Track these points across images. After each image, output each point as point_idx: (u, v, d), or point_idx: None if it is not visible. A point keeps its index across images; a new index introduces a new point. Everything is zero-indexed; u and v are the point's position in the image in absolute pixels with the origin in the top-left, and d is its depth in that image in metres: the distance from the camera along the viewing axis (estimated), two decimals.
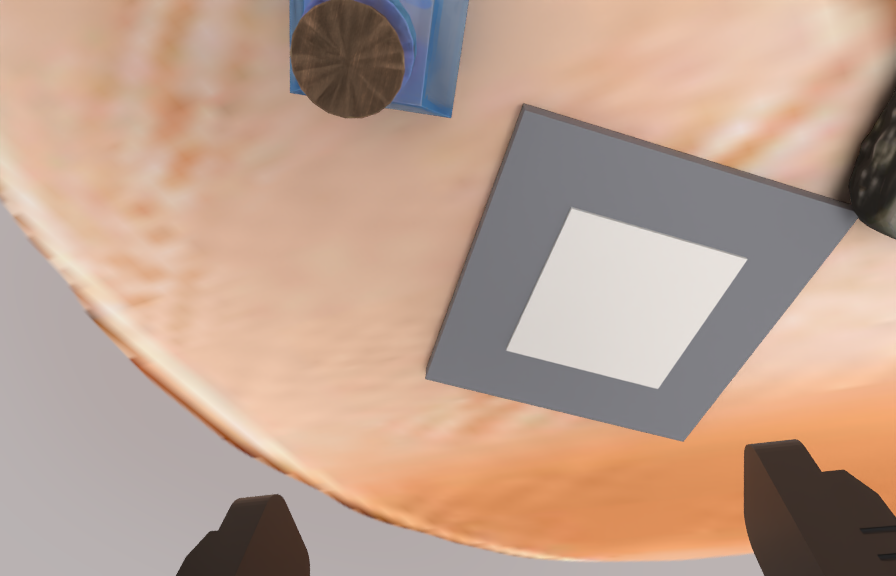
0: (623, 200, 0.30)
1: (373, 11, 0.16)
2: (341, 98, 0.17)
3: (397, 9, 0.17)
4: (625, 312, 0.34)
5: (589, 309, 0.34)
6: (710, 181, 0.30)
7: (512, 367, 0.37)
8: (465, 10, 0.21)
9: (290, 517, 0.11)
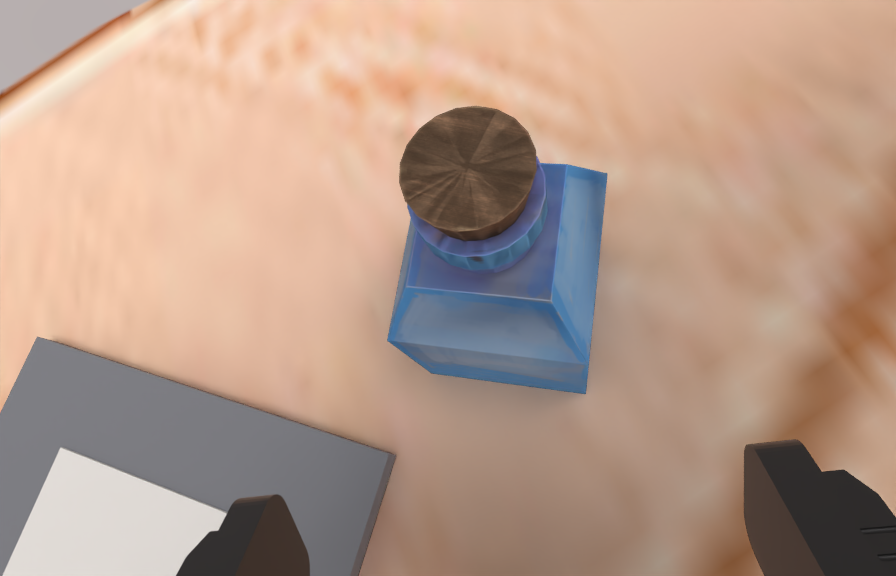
0: None
1: (524, 194, 0.13)
2: (423, 159, 0.14)
3: (521, 237, 0.14)
4: None
5: (105, 567, 0.24)
6: None
7: (31, 458, 0.26)
8: (509, 352, 0.18)
9: (290, 517, 0.11)
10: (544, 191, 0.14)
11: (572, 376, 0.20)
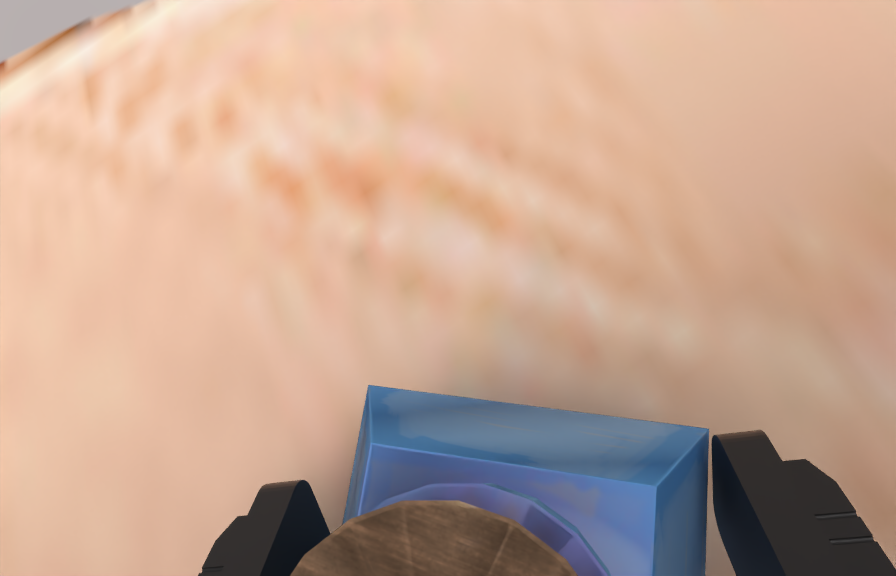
0: None
1: None
2: None
3: None
4: None
5: None
6: None
7: None
8: None
9: (315, 503, 0.11)
10: None
11: None
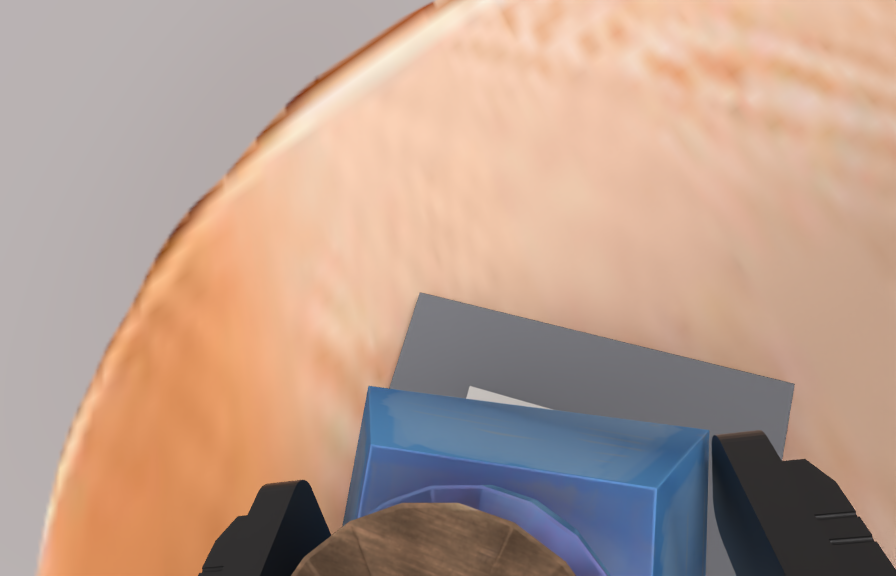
0: None
1: None
2: None
3: None
4: None
5: None
6: None
7: None
8: None
9: (316, 503, 0.11)
10: None
11: None
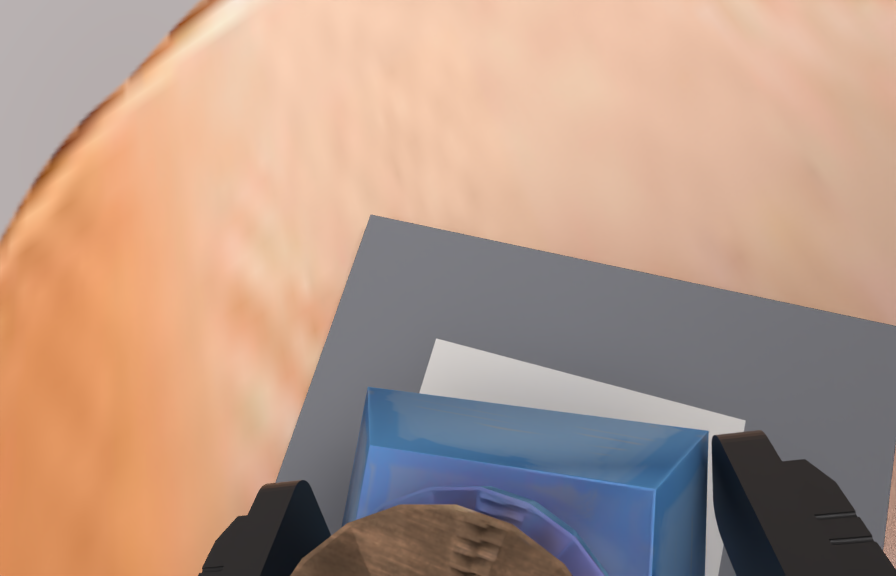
0: None
1: None
2: None
3: None
4: None
5: None
6: None
7: (394, 354, 0.21)
8: None
9: (315, 503, 0.11)
10: None
11: None
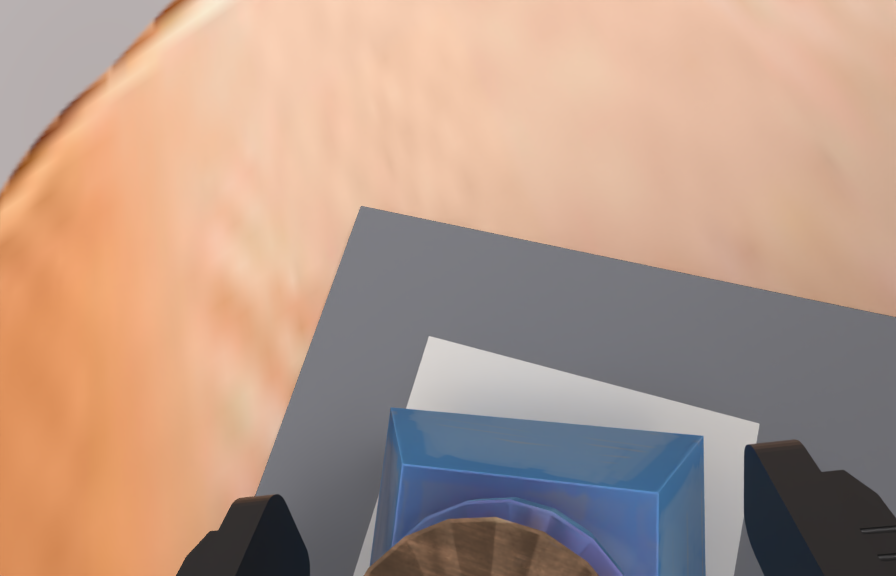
0: None
1: None
2: None
3: None
4: None
5: None
6: None
7: (385, 352, 0.20)
8: None
9: (290, 517, 0.11)
10: None
11: None
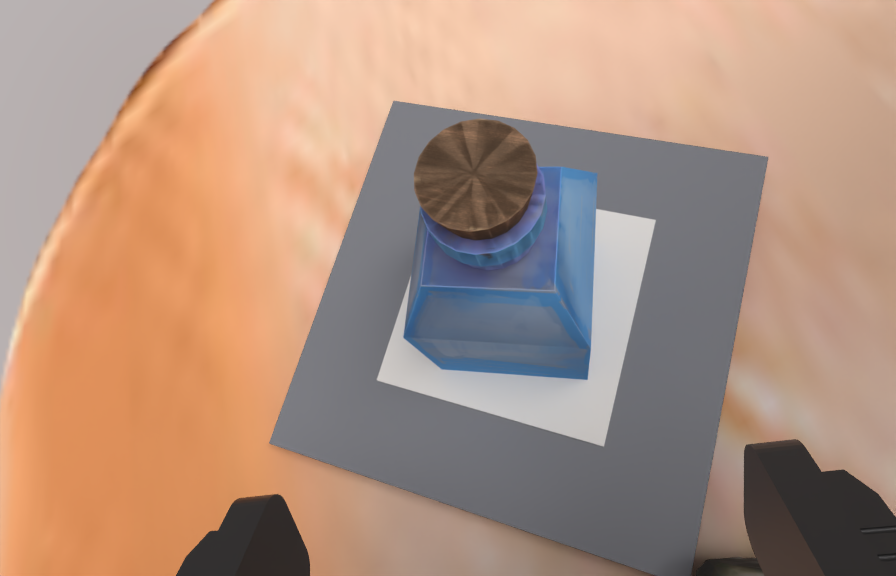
0: (670, 276, 0.25)
1: (527, 195, 0.15)
2: (435, 169, 0.15)
3: (526, 234, 0.16)
4: None
5: None
6: (710, 371, 0.24)
7: (412, 193, 0.29)
8: (517, 341, 0.19)
9: (290, 517, 0.11)
10: (544, 191, 0.16)
11: (575, 362, 0.21)
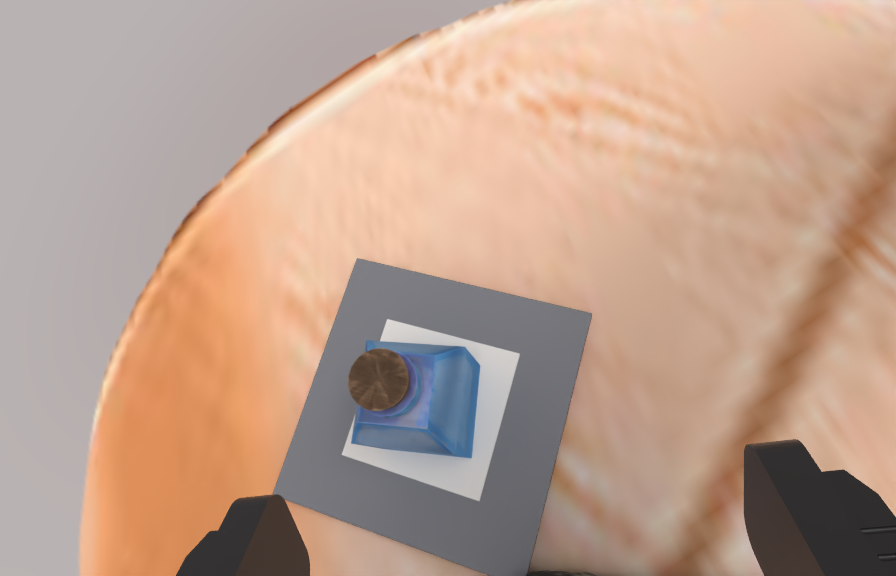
0: (526, 391, 0.40)
1: (402, 393, 0.29)
2: (358, 375, 0.30)
3: (406, 406, 0.30)
4: None
5: None
6: (545, 454, 0.39)
7: (367, 326, 0.44)
8: (414, 449, 0.34)
9: (290, 517, 0.11)
10: (416, 383, 0.31)
11: (453, 455, 0.36)
